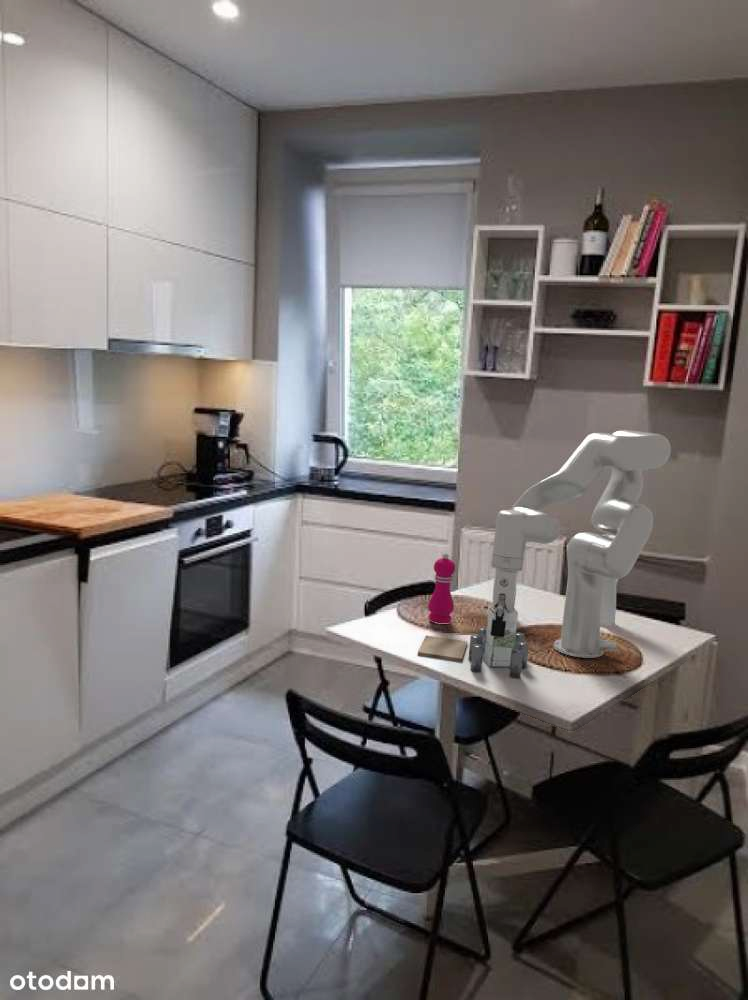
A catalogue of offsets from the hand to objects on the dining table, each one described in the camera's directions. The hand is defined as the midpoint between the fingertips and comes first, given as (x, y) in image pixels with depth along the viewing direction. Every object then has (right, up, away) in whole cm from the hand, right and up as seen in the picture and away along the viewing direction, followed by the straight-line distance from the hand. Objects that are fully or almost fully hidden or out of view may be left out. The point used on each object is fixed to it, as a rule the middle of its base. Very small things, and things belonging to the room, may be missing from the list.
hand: (498, 630), depth 184 cm
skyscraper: (+37, -5, +40) cm, 55 cm away
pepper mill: (-12, -3, +31) cm, 33 cm away
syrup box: (0, -9, +2) cm, 9 cm away
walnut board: (-13, -6, +9) cm, 17 cm away
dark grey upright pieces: (0, -9, +2) cm, 9 cm away
